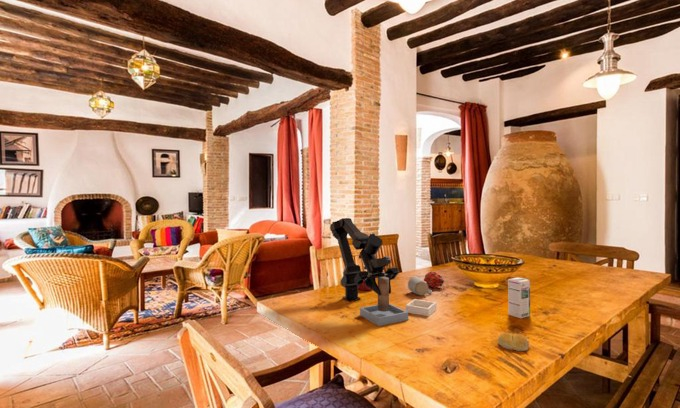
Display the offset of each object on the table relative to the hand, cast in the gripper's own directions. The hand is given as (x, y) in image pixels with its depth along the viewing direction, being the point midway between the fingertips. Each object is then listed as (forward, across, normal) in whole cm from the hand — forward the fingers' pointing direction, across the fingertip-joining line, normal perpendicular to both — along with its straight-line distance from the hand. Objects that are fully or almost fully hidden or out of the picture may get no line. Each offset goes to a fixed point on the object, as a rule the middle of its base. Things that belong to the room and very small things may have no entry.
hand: (385, 294), depth 144 cm
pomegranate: (-22, +16, +36) cm, 45 cm away
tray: (+6, 0, +8) cm, 10 cm away
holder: (+7, +18, +7) cm, 20 cm away
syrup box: (+23, +48, -9) cm, 54 cm away
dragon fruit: (-11, +48, +26) cm, 56 cm away
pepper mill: (+4, 0, +6) cm, 7 cm away
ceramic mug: (-7, +34, +22) cm, 41 cm away
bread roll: (+36, +22, -22) cm, 47 cm away
